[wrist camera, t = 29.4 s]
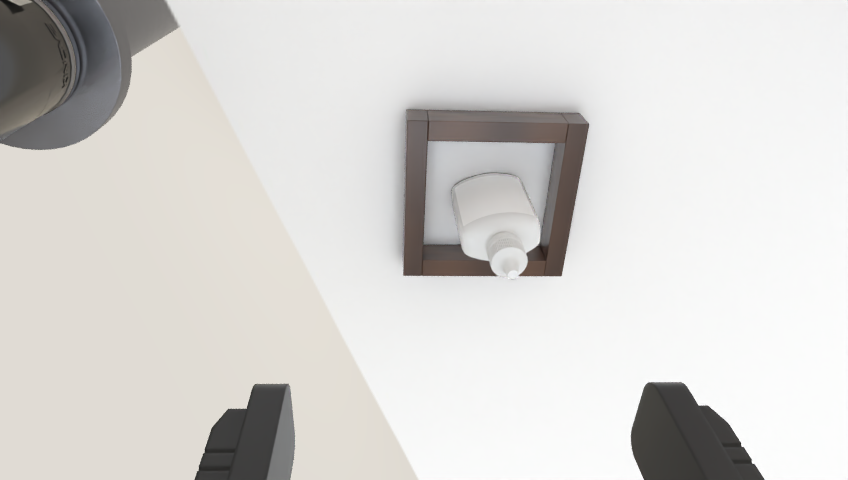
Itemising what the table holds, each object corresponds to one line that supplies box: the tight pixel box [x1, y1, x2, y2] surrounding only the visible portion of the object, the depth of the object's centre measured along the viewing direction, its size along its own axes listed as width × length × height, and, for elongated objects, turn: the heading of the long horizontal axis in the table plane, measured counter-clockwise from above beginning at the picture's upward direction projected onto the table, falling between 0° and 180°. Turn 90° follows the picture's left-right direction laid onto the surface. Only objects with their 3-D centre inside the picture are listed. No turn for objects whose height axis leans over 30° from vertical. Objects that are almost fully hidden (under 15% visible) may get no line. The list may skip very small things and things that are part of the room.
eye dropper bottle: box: [451, 173, 541, 280], centre depth 42 cm, size 4×6×12 cm
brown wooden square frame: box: [403, 110, 589, 276], centre depth 46 cm, size 13×13×2 cm
